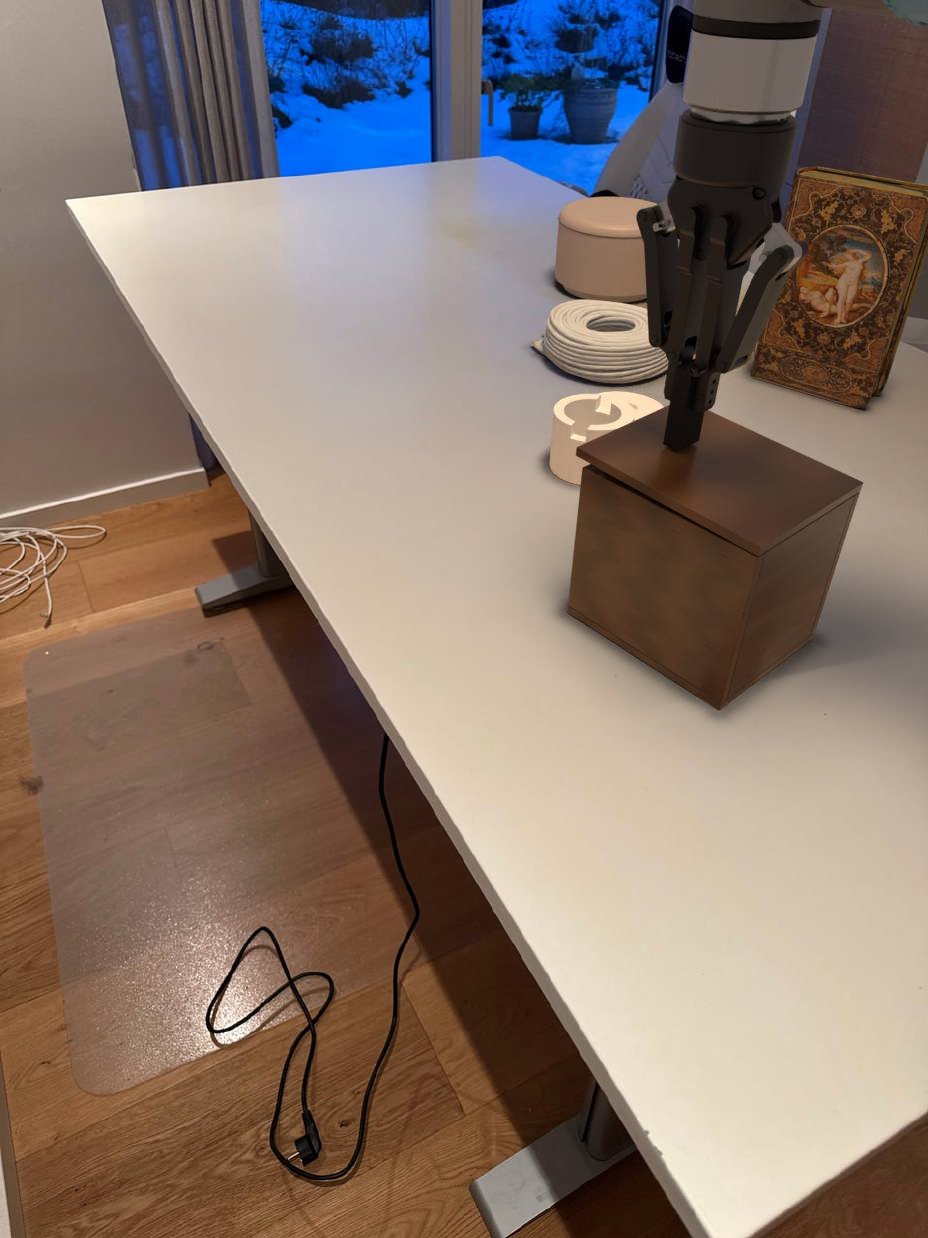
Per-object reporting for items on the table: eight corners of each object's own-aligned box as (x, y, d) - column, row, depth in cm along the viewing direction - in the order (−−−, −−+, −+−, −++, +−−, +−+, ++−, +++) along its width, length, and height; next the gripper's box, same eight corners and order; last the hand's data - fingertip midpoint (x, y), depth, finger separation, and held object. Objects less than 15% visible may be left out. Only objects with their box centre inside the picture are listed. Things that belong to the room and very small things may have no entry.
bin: (566, 612, 83) (581, 467, 74) (662, 556, 90) (687, 417, 81) (719, 710, 73) (758, 557, 64) (813, 638, 80) (860, 491, 71)
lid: (575, 455, 74) (576, 446, 73) (681, 406, 81) (683, 398, 80) (758, 557, 64) (761, 547, 63) (860, 491, 71) (863, 482, 71)
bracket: (610, 493, 99) (617, 437, 95) (536, 473, 102) (540, 418, 98) (669, 419, 113) (678, 367, 109) (602, 403, 116) (608, 352, 112)
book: (745, 375, 123) (788, 172, 108) (763, 362, 127) (807, 164, 111) (866, 411, 115) (932, 198, 100) (882, 396, 118) (948, 188, 103)
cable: (524, 343, 131) (526, 300, 127) (635, 329, 135) (640, 288, 131) (573, 394, 118) (577, 349, 114) (694, 378, 122) (702, 333, 119)
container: (532, 288, 148) (536, 211, 141) (590, 260, 160) (596, 188, 152) (630, 314, 140) (640, 234, 133) (684, 283, 151) (696, 207, 144)
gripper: (863, 119, 57) (778, 458, 72) (693, 89, 65) (647, 401, 79) (796, 135, 53) (720, 490, 68) (623, 101, 61) (588, 427, 76)
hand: (681, 442), depth 74 cm, fingers closed
